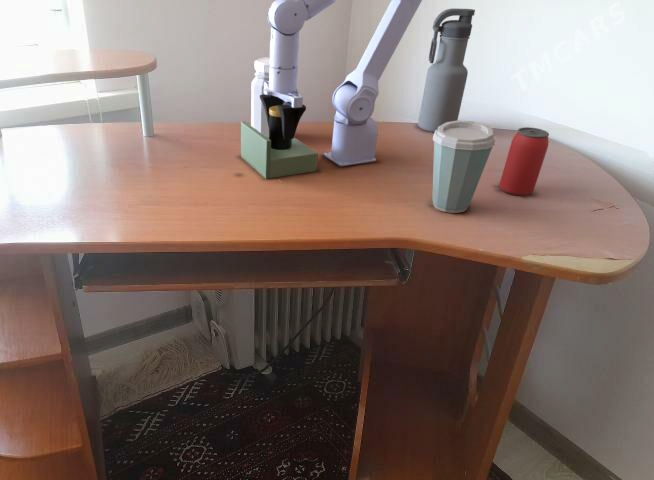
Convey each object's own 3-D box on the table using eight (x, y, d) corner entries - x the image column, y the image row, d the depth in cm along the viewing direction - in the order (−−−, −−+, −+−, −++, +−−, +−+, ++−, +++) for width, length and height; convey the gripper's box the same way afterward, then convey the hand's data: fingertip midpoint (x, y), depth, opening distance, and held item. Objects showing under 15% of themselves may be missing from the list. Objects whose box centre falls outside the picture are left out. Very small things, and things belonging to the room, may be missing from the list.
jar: (290, 144, 132) (294, 65, 122) (250, 143, 132) (251, 64, 122) (289, 132, 140) (293, 56, 130) (251, 131, 140) (252, 56, 130)
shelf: (288, 150, 128) (289, 116, 124) (316, 171, 118) (319, 134, 113) (240, 156, 124) (240, 121, 120) (265, 178, 114) (266, 141, 109)
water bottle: (417, 132, 141) (439, 11, 125) (414, 121, 149) (434, 6, 133) (457, 134, 140) (485, 12, 124) (452, 123, 148) (478, 7, 132)
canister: (285, 141, 122) (287, 104, 117) (295, 148, 118) (298, 110, 113) (264, 143, 120) (265, 106, 115) (274, 151, 116) (275, 113, 112)
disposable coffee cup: (469, 223, 98) (490, 141, 89) (411, 209, 103) (426, 129, 94) (483, 203, 105) (504, 125, 97) (428, 190, 110) (444, 115, 101)
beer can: (531, 186, 112) (550, 128, 106) (533, 199, 107) (553, 139, 100) (497, 182, 114) (514, 124, 107) (498, 194, 109) (515, 134, 102)
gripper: (251, 60, 114) (250, 125, 122) (281, 75, 103) (278, 146, 111) (281, 58, 116) (279, 122, 124) (313, 72, 105) (309, 142, 113)
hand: (280, 133), depth 117 cm, fingers open, 7 cm apart
